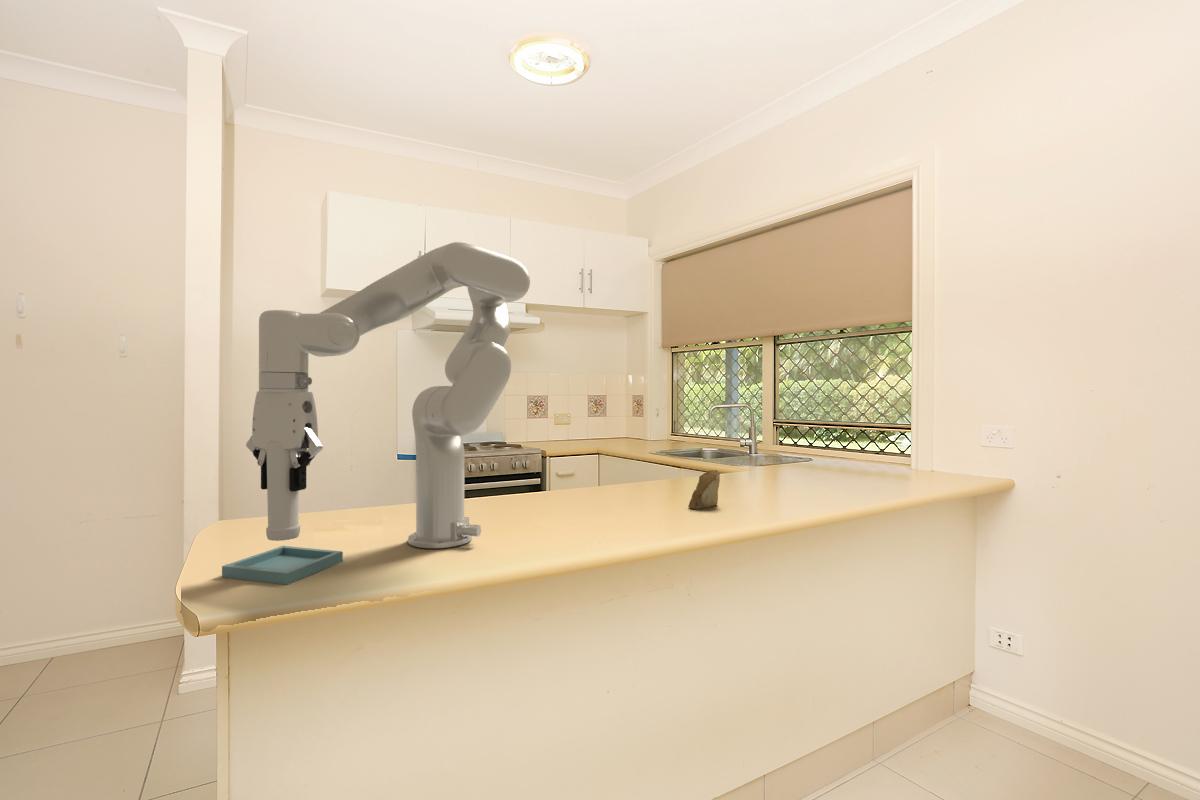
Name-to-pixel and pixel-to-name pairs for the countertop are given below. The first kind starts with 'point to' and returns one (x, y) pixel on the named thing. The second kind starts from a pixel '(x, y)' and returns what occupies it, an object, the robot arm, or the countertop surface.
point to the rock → (706, 490)
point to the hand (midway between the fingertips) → (283, 488)
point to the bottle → (281, 495)
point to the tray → (282, 564)
